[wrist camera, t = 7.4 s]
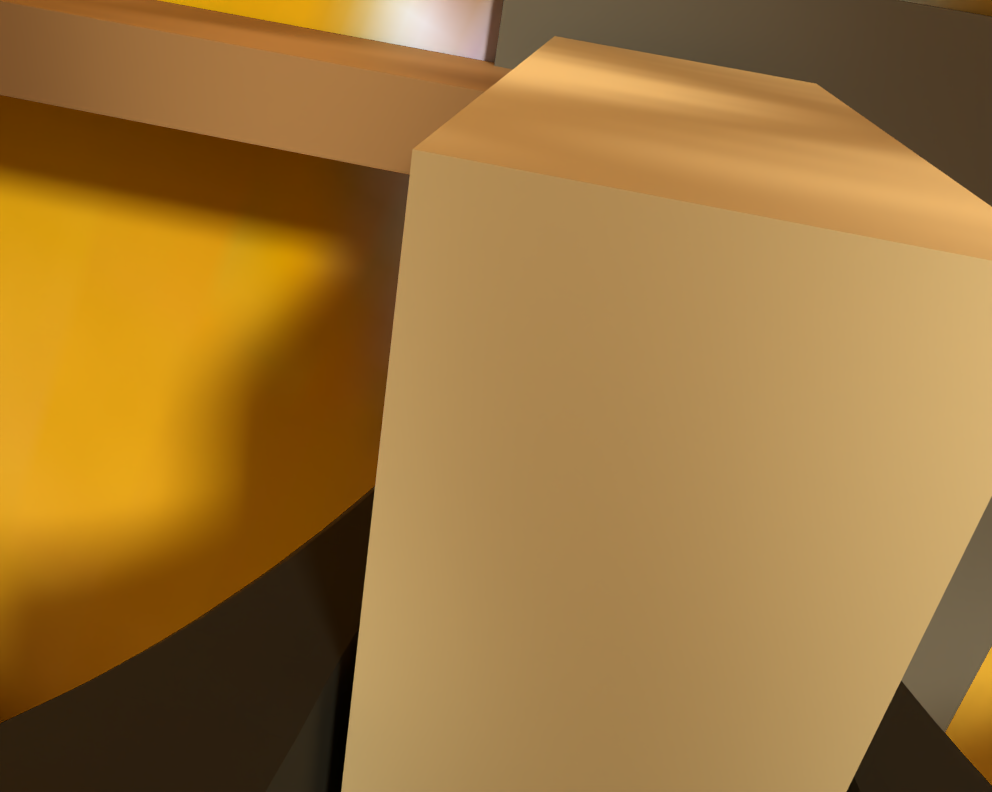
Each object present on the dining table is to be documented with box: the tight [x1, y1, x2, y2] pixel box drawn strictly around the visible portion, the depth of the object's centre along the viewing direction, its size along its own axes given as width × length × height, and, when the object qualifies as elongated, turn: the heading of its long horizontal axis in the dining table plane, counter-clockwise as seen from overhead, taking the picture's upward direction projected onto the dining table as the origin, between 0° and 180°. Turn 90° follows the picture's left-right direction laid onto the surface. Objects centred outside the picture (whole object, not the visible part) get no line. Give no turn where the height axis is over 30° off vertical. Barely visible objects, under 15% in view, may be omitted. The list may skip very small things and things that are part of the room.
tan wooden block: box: [341, 36, 992, 792], centre depth 9 cm, size 3×10×7 cm, turn 171°
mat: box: [494, 0, 992, 732], centre depth 13 cm, size 9×12×1 cm
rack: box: [0, 0, 513, 175], centre depth 16 cm, size 11×23×2 cm, turn 171°
